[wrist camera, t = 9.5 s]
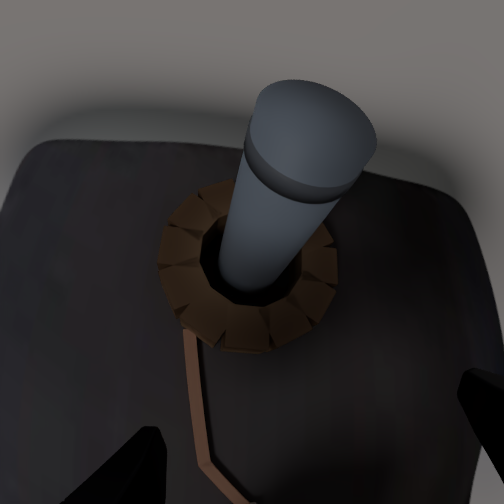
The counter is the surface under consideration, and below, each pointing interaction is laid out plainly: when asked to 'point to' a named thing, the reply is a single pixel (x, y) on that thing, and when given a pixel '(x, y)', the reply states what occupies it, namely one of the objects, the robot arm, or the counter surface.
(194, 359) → the lace
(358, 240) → the counter surface
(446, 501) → the counter surface
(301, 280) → the brown segmented ring
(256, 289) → the dark grey capped cylinder
